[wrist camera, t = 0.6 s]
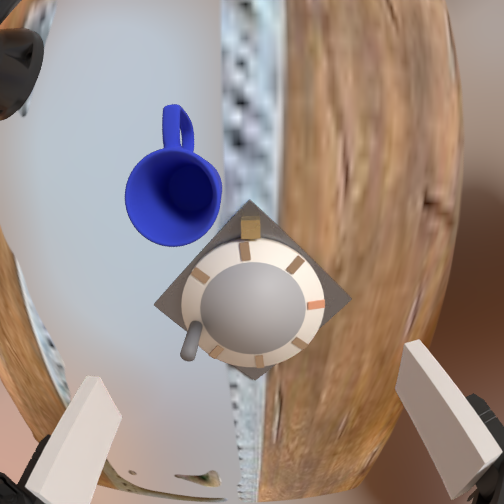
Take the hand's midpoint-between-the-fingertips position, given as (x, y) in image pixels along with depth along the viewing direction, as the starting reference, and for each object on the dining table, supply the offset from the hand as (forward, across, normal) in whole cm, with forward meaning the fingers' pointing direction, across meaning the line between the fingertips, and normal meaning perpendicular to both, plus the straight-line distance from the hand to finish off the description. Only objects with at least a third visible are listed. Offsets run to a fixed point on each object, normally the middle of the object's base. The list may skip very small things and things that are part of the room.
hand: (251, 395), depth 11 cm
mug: (+25, -5, +9) cm, 27 cm away
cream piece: (+24, 0, -8) cm, 26 cm away
